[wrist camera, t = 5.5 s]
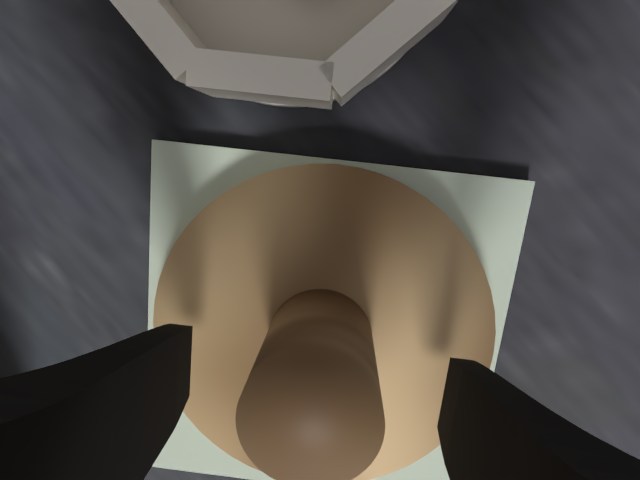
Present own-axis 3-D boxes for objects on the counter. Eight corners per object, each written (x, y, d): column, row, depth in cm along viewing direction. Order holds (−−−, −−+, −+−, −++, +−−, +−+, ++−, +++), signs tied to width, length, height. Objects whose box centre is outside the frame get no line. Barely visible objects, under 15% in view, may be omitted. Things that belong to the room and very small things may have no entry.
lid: (513, 178, 12) (623, 196, 7) (460, 481, 14) (518, 648, 9) (164, 149, 12) (52, 149, 8) (164, 448, 14) (77, 593, 10)
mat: (528, 180, 12) (535, 181, 12) (461, 497, 15) (464, 507, 14) (157, 140, 13) (151, 139, 12) (150, 457, 15) (145, 465, 14)
